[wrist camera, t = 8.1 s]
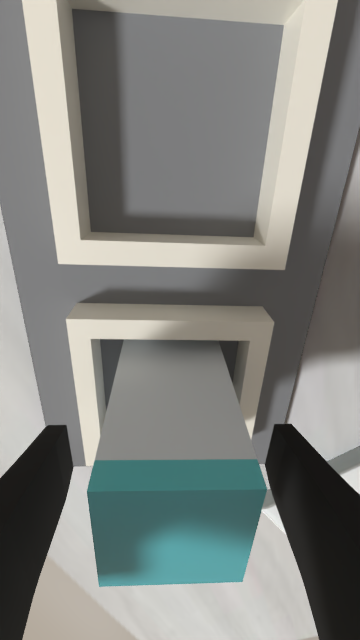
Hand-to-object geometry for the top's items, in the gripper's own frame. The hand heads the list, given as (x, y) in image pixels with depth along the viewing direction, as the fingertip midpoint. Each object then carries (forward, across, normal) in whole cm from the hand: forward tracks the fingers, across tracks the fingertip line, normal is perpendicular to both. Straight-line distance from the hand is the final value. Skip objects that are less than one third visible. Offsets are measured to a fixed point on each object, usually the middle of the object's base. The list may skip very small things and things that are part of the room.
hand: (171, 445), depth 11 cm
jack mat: (+4, 0, -5) cm, 6 cm away
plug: (+4, 0, 0) cm, 4 cm away
